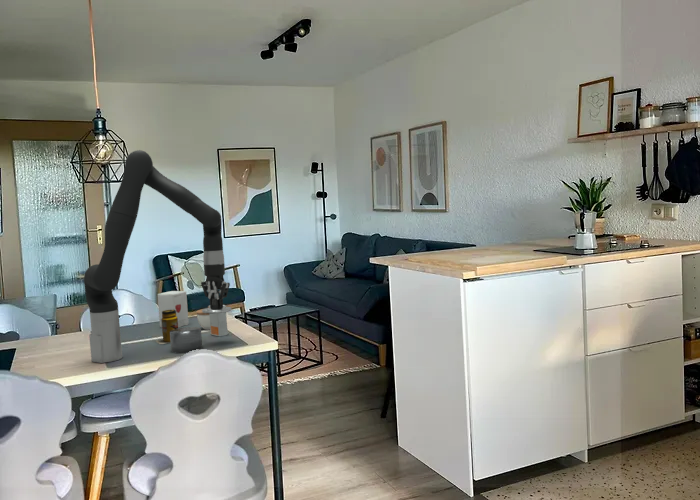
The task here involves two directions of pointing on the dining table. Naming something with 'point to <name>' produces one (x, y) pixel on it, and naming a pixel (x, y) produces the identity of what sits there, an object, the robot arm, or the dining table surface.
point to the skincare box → (218, 323)
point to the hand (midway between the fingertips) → (216, 308)
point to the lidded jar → (203, 319)
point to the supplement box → (174, 305)
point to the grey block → (185, 339)
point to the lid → (215, 308)
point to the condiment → (168, 325)
